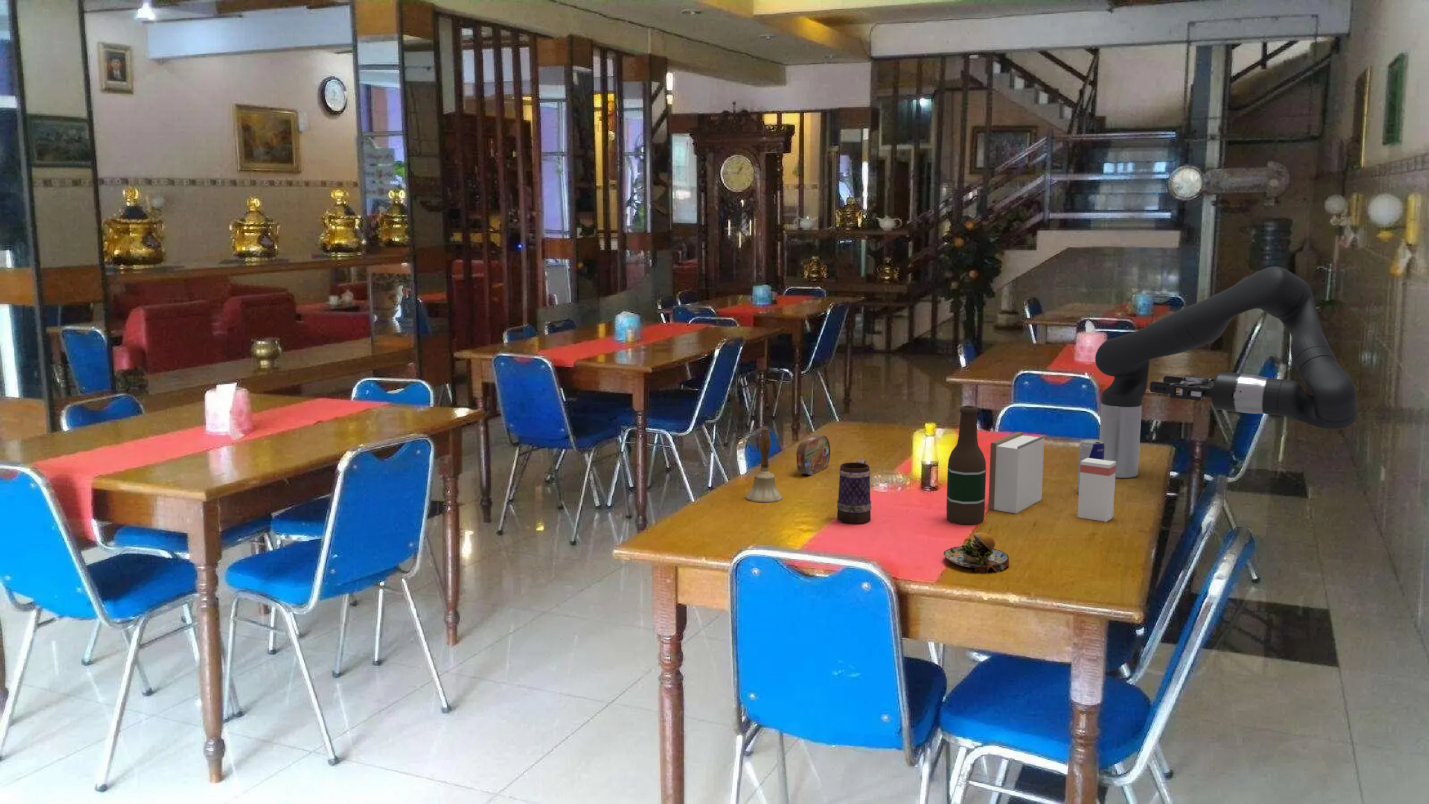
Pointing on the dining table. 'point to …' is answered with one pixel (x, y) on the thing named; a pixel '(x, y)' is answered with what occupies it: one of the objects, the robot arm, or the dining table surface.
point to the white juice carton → (1096, 489)
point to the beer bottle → (966, 473)
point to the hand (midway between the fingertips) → (1157, 383)
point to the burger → (979, 554)
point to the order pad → (1015, 472)
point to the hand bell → (764, 475)
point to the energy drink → (1090, 452)
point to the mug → (854, 493)
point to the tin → (813, 455)
